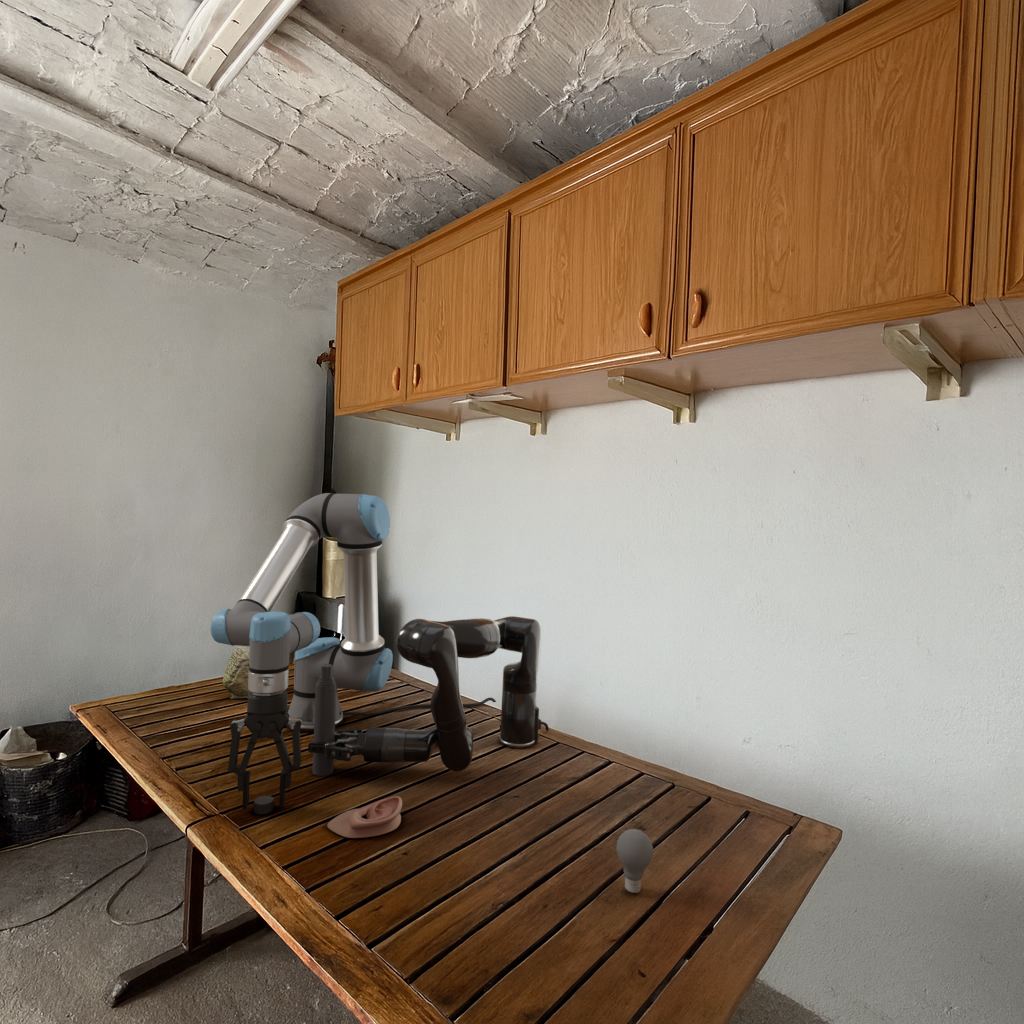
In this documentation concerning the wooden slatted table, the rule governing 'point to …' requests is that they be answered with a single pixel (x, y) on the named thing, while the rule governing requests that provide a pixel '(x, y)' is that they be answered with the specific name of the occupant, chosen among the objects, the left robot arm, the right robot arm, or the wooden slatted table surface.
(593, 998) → the wooden slatted table surface
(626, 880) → the light bulb
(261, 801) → the cap
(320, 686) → the bottle
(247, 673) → the fossil
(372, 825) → the anatomical model
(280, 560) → the left robot arm
